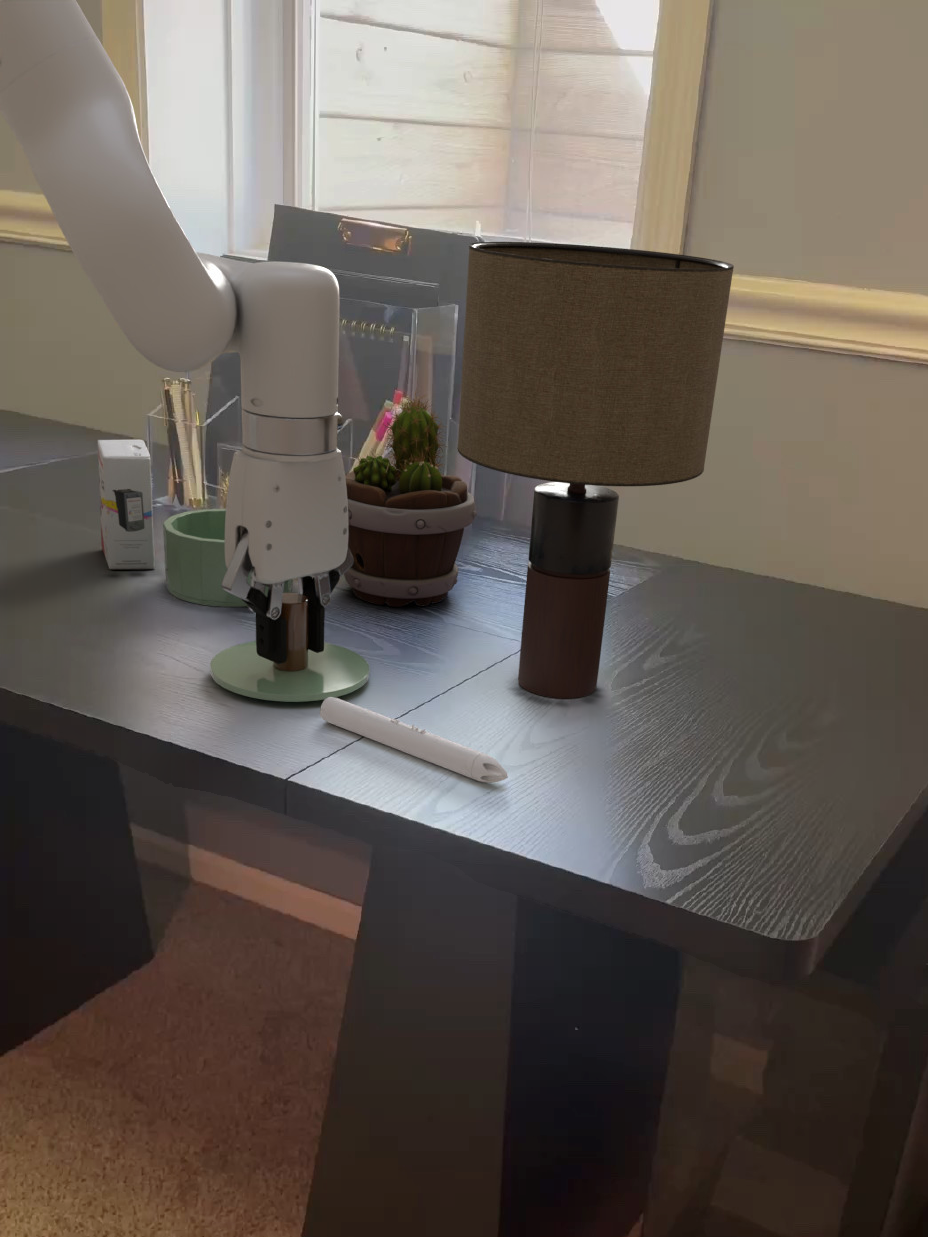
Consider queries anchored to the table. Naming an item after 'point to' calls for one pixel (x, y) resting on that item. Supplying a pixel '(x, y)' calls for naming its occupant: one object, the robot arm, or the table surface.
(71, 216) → the robot arm
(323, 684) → the lid
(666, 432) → the lamp
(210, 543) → the green round container
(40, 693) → the table surface
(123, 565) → the ink box
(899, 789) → the table surface
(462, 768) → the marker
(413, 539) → the flowerpot
